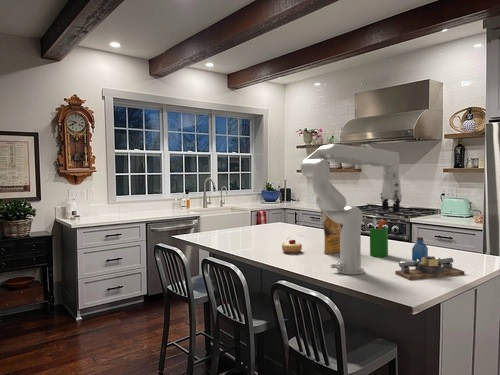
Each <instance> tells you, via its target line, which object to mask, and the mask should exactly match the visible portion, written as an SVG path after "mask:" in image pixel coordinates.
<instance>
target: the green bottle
mask: <svg viewBox="0 0 500 375" xmlns="http://www.w3.org/2000/svg"><path fill="white" fill-rule="evenodd" d="M386 222H387V221H386V220H379V222H378V224H377V225H378V227H377V228H372V227H370V228H369V256H370V257H375V258H386V257H388V256H389V230H388V229H389V228H388V226H387V227H386V226H385V225H386V224H387V223H386Z"/></svg>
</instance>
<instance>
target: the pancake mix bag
mask: <svg viewBox="0 0 500 375" xmlns="http://www.w3.org/2000/svg"><path fill="white" fill-rule="evenodd" d="M320 214H321V220H322V222H321V223H322V229H323V233H324V234H323V235H324V236H323V237H324V252H323V254H325V255H331V253H332V254H336V253H338V252H339V253H340V232H341V229H342V226H341V224H339V223H335V222H334V221H332V220H331V219H330V218H329V217H328V216H327V215H326V214H325V213H324V212H323V211H322V210H321V209H320ZM335 252H336V253H335Z"/></svg>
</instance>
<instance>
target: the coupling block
mask: <svg viewBox="0 0 500 375" xmlns="http://www.w3.org/2000/svg"><path fill="white" fill-rule="evenodd" d="M436 258H437V257H436V256H434V255H433V256H429V255H428V256H425V257H421V261H420V262H421V266H424V267H426V268H436V267H438V259H436Z"/></svg>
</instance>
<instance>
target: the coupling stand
mask: <svg viewBox="0 0 500 375" xmlns="http://www.w3.org/2000/svg"><path fill="white" fill-rule="evenodd" d="M394 272H395V275H396V276H399V277H401V278H404V279H406V280H407V281H410V280H411V281H412V280H423V279H431V278H432V279H433V278H442V277H453V276H462V275H463V276H464V275H465V270H462V269H458V268H455V267H453V266H452V269H446V268H444V267H443V265H442V266H439V265H438V267H436V268H426V267H424V266H421V268H416V267H414V269H413V268H412V269H411V268H410V273H404V272H402V271H401V269H400V270H395V271H394Z"/></svg>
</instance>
